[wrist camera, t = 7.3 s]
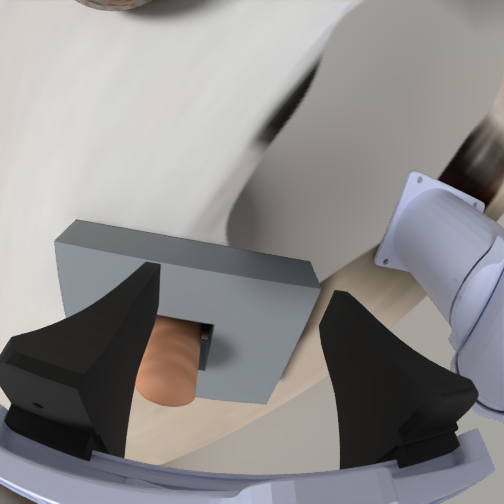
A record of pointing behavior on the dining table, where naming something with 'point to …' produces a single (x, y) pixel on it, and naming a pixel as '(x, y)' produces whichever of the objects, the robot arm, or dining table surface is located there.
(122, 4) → the vase
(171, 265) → the socket board
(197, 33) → the dining table surface
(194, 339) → the peg
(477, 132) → the dining table surface
